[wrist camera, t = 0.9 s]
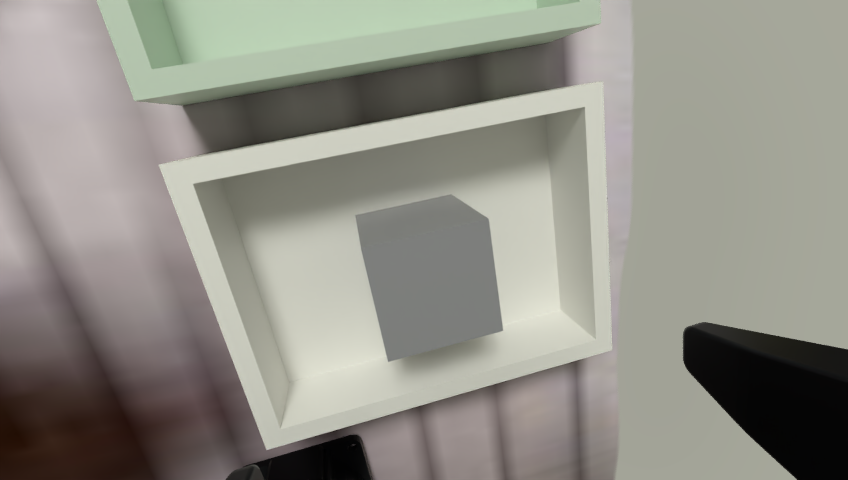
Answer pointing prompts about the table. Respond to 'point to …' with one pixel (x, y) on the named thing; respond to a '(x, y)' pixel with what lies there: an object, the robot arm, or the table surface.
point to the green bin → (314, 39)
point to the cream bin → (345, 269)
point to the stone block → (430, 274)
